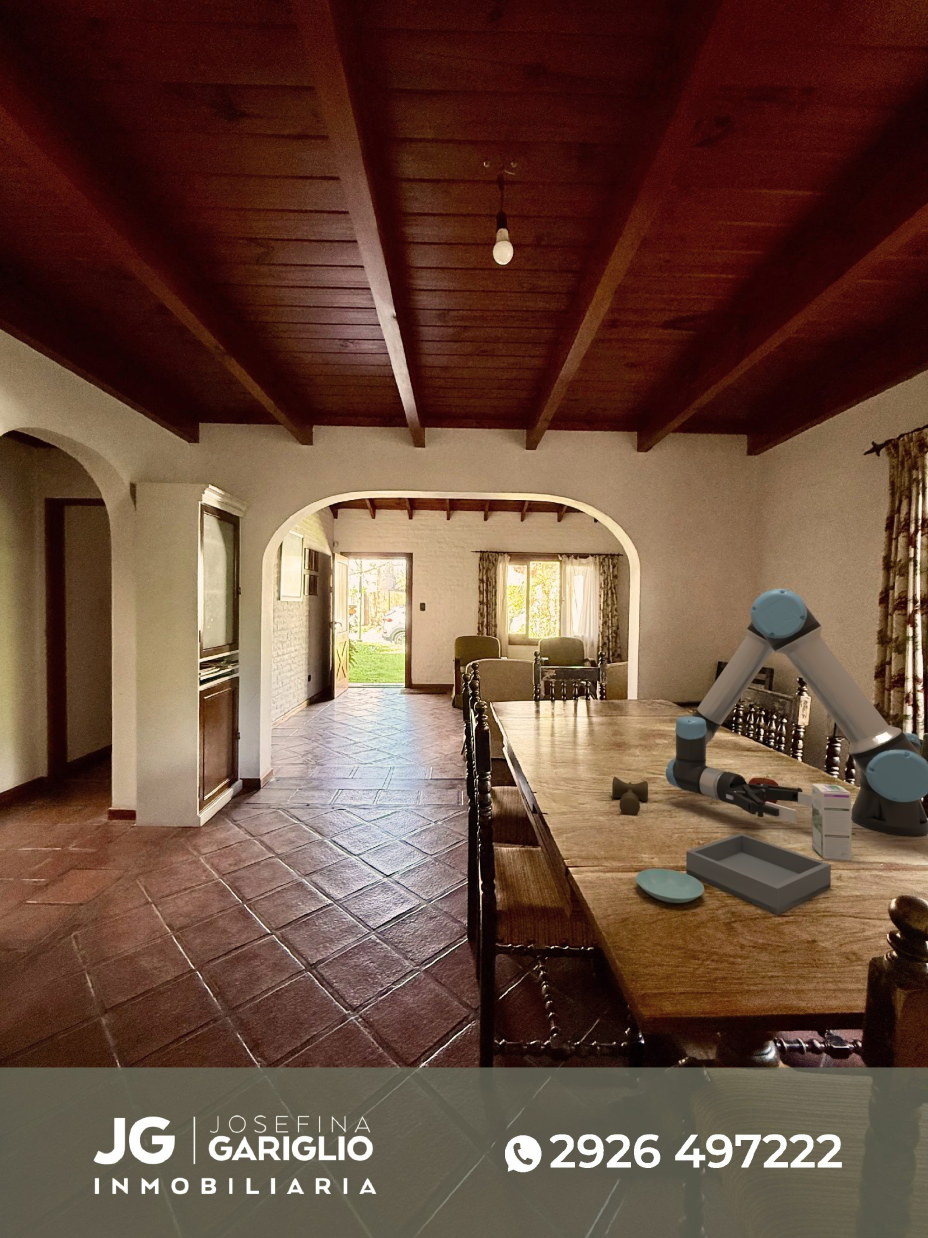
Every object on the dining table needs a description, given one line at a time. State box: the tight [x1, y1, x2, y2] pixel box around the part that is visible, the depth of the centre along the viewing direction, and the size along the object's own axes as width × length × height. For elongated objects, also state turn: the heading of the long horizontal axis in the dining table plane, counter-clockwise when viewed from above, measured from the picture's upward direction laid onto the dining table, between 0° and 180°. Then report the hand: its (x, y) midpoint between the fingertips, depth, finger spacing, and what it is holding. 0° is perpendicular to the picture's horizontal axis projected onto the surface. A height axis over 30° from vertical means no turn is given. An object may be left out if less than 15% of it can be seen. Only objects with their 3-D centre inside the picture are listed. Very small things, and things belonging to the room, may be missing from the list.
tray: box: [685, 832, 832, 916], centre depth 108 cm, size 18×18×4 cm
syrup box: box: [811, 783, 853, 862], centre depth 120 cm, size 6×6×14 cm
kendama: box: [611, 776, 649, 816], centre depth 153 cm, size 6×10×20 cm
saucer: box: [635, 868, 705, 904], centre depth 103 cm, size 12×12×2 cm
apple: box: [747, 776, 780, 805], centre depth 152 cm, size 8×8×8 cm
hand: (812, 811), depth 123 cm, fingers open, 13 cm apart
